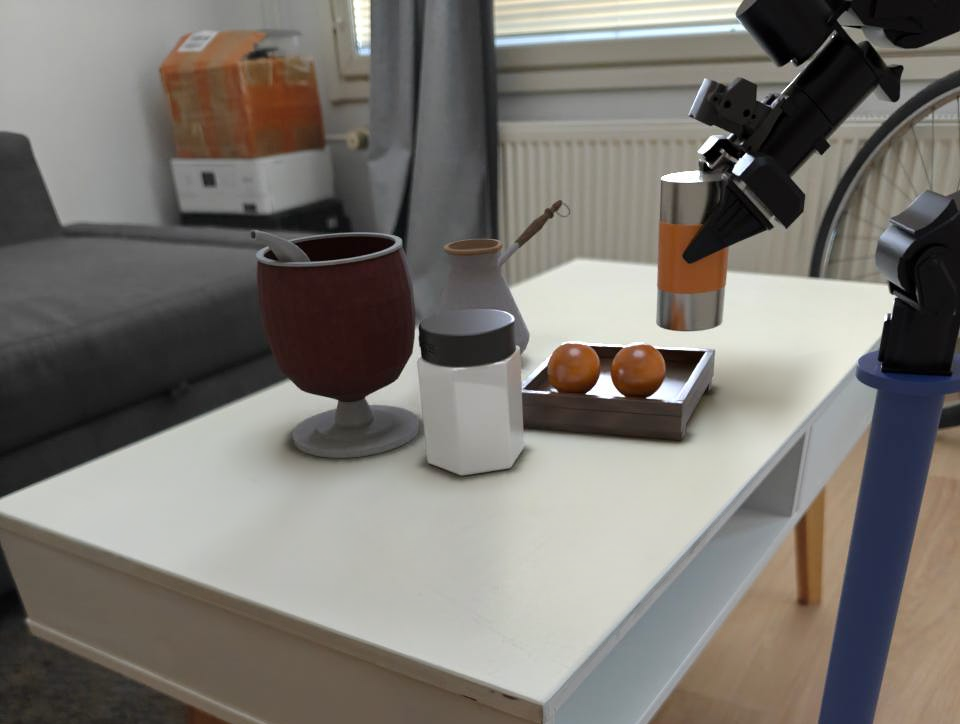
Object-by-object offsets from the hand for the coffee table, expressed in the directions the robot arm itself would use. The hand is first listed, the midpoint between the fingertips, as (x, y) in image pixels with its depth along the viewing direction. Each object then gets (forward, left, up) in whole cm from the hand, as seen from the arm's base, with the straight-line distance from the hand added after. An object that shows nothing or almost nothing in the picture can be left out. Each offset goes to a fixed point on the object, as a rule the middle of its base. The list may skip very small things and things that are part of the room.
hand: (678, 252), depth 87 cm
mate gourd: (+27, +19, -13) cm, 36 cm away
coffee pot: (+21, -9, -13) cm, 27 cm away
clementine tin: (-1, -1, -7) cm, 7 cm away
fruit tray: (+4, +6, -13) cm, 15 cm away
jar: (+13, +21, -13) cm, 28 cm away
